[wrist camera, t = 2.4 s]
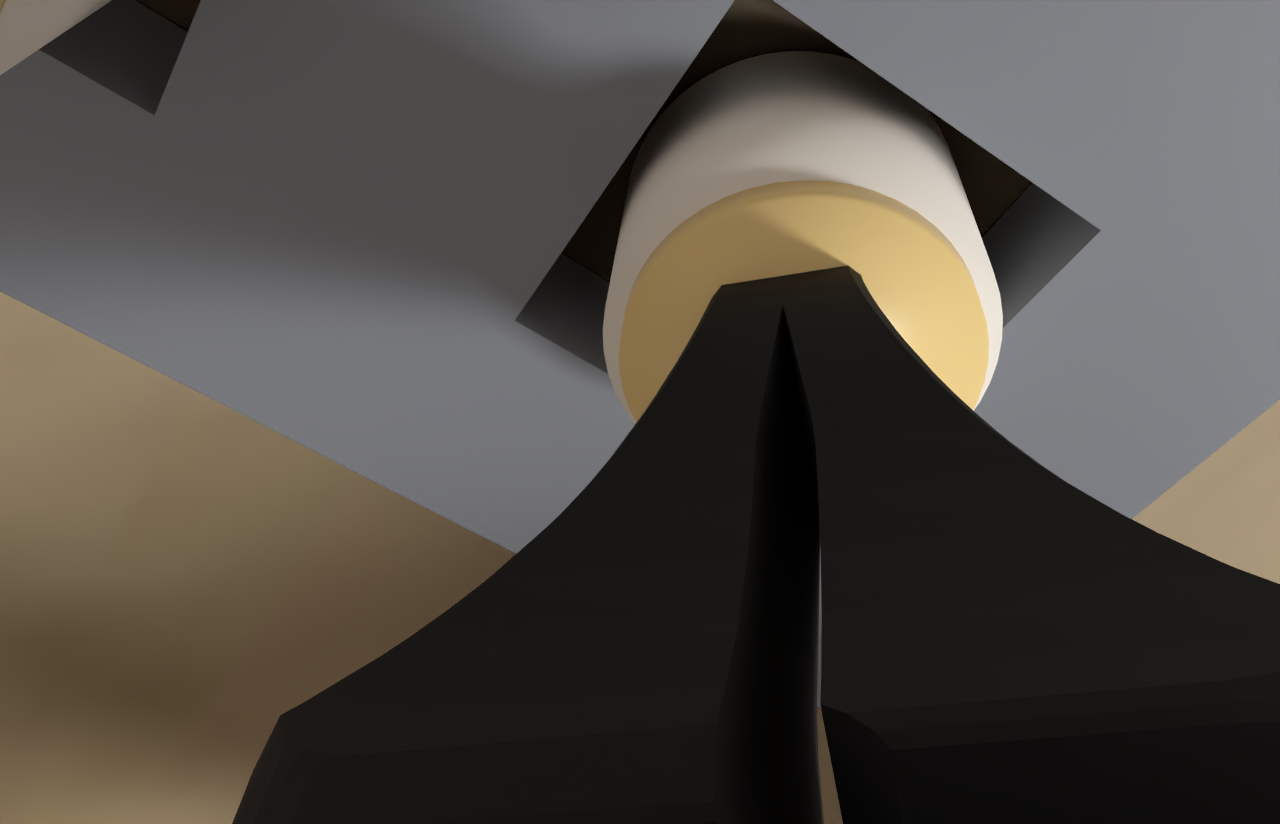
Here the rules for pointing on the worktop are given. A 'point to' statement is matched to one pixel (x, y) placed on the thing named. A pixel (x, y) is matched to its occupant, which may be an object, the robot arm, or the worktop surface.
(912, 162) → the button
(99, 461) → the worktop surface
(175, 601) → the worktop surface
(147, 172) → the button board
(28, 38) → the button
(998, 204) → the worktop surface
